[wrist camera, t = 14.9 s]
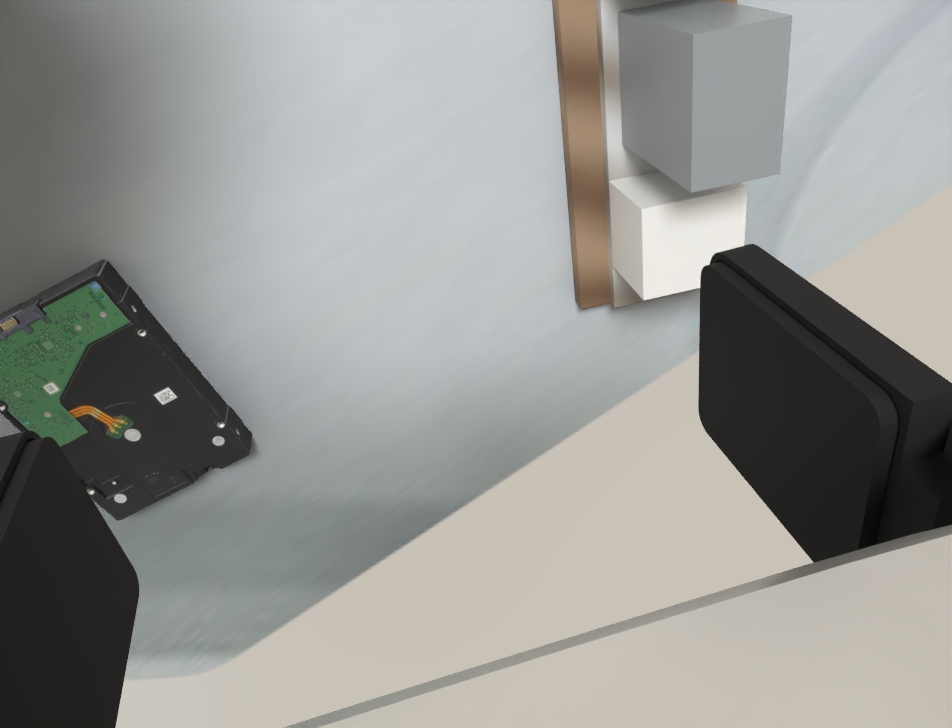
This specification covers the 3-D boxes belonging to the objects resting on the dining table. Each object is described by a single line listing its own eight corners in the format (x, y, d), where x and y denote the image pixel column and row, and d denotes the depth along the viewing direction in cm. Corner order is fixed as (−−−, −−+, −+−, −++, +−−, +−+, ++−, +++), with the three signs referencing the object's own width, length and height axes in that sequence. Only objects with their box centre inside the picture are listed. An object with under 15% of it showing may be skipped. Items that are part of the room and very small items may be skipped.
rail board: (534, -225, 35) (546, -233, 33) (735, -256, 36) (756, -265, 34) (575, 301, 50) (585, 314, 48) (716, 269, 51) (730, 281, 49)
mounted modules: (593, -158, 35) (633, -168, 31) (719, -179, 36) (775, -192, 32) (612, 266, 47) (643, 300, 43) (707, 245, 47) (747, 277, 43)
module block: (617, 11, 39) (693, 34, 32) (701, -5, 40) (796, 14, 32) (622, 144, 43) (690, 193, 35) (699, 128, 43) (783, 173, 36)
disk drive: (256, 427, 51) (105, 252, 43) (254, 453, 49) (94, 272, 40) (126, 496, 52) (-47, 336, 43) (118, 524, 49) (-66, 361, 41)
